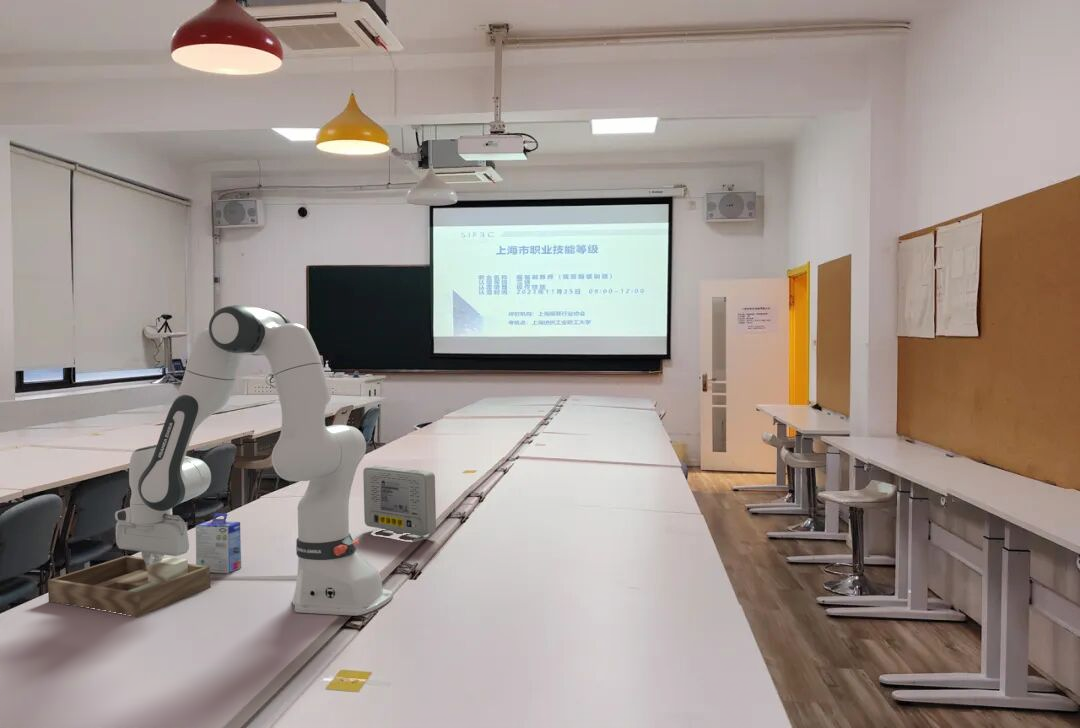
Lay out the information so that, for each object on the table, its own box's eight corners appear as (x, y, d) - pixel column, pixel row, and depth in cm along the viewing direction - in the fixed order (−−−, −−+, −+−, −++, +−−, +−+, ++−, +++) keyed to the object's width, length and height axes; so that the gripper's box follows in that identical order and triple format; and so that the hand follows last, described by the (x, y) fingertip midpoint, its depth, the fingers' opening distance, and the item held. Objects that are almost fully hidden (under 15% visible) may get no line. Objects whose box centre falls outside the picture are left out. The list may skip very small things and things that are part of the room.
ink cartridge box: (243, 567, 189) (241, 512, 189) (229, 574, 184) (228, 517, 183) (209, 565, 191) (207, 511, 191) (195, 572, 186) (193, 516, 185)
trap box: (210, 587, 174) (209, 566, 174) (136, 617, 156) (135, 594, 156) (127, 574, 185) (126, 555, 185) (48, 601, 166) (47, 580, 166)
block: (188, 576, 173) (187, 559, 173) (166, 584, 168) (166, 567, 168) (169, 573, 176) (169, 557, 175) (147, 581, 170) (147, 564, 170)
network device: (441, 537, 215) (439, 470, 214) (421, 545, 207) (419, 475, 207) (378, 527, 228) (377, 464, 228) (358, 533, 221) (356, 468, 220)
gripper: (194, 513, 172) (196, 570, 173) (133, 506, 180) (135, 561, 180) (172, 519, 166) (174, 578, 167) (109, 512, 174) (111, 569, 174)
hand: (153, 570), depth 173 cm, fingers closed
